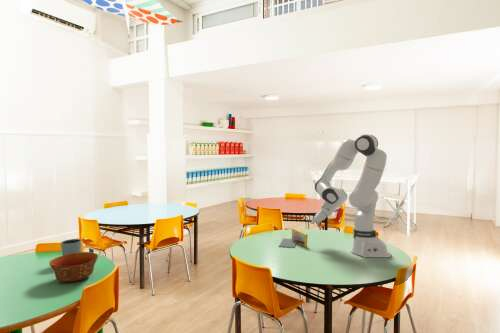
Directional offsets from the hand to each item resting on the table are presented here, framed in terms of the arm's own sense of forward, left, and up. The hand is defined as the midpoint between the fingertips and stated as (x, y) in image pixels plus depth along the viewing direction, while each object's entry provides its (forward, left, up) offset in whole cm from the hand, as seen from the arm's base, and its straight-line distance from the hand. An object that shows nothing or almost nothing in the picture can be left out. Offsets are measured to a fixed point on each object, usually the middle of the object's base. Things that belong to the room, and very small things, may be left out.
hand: (311, 223), depth 216 cm
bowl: (+109, +86, -15) cm, 140 cm away
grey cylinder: (+129, +66, -15) cm, 146 cm away
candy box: (+8, 0, -14) cm, 16 cm away
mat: (+15, 0, -14) cm, 21 cm away
